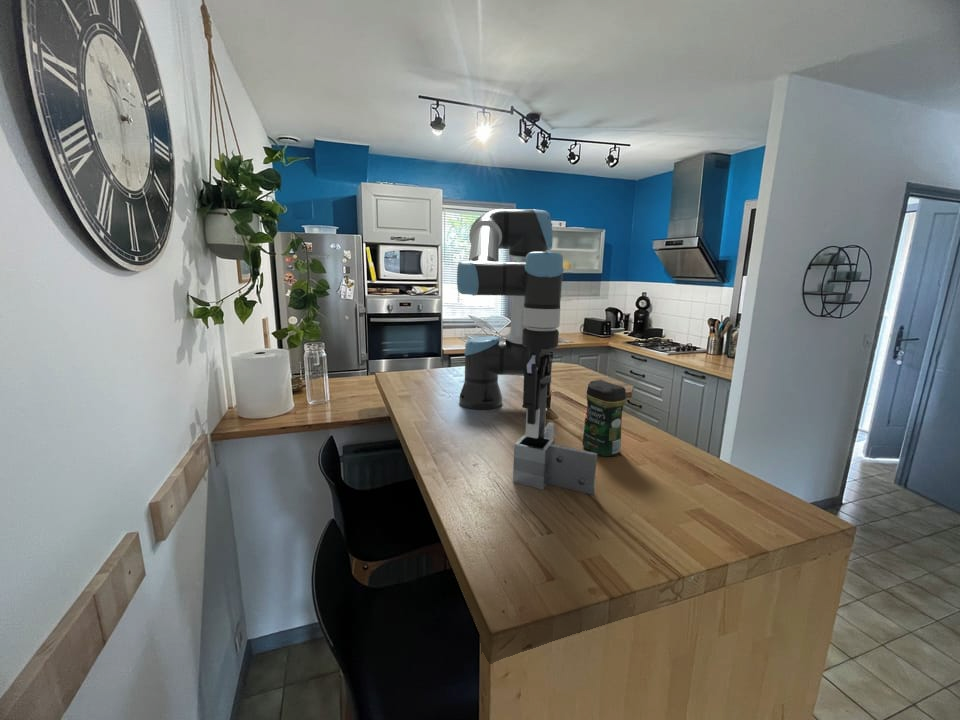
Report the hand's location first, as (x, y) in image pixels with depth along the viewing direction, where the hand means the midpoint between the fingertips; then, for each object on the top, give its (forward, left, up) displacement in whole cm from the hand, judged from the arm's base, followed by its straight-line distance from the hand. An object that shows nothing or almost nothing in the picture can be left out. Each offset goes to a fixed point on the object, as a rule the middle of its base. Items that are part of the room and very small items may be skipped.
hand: (535, 432), depth 91 cm
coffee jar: (-23, +11, -11) cm, 28 cm away
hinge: (-5, +5, -11) cm, 13 cm away
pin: (0, 0, -4) cm, 4 cm away
